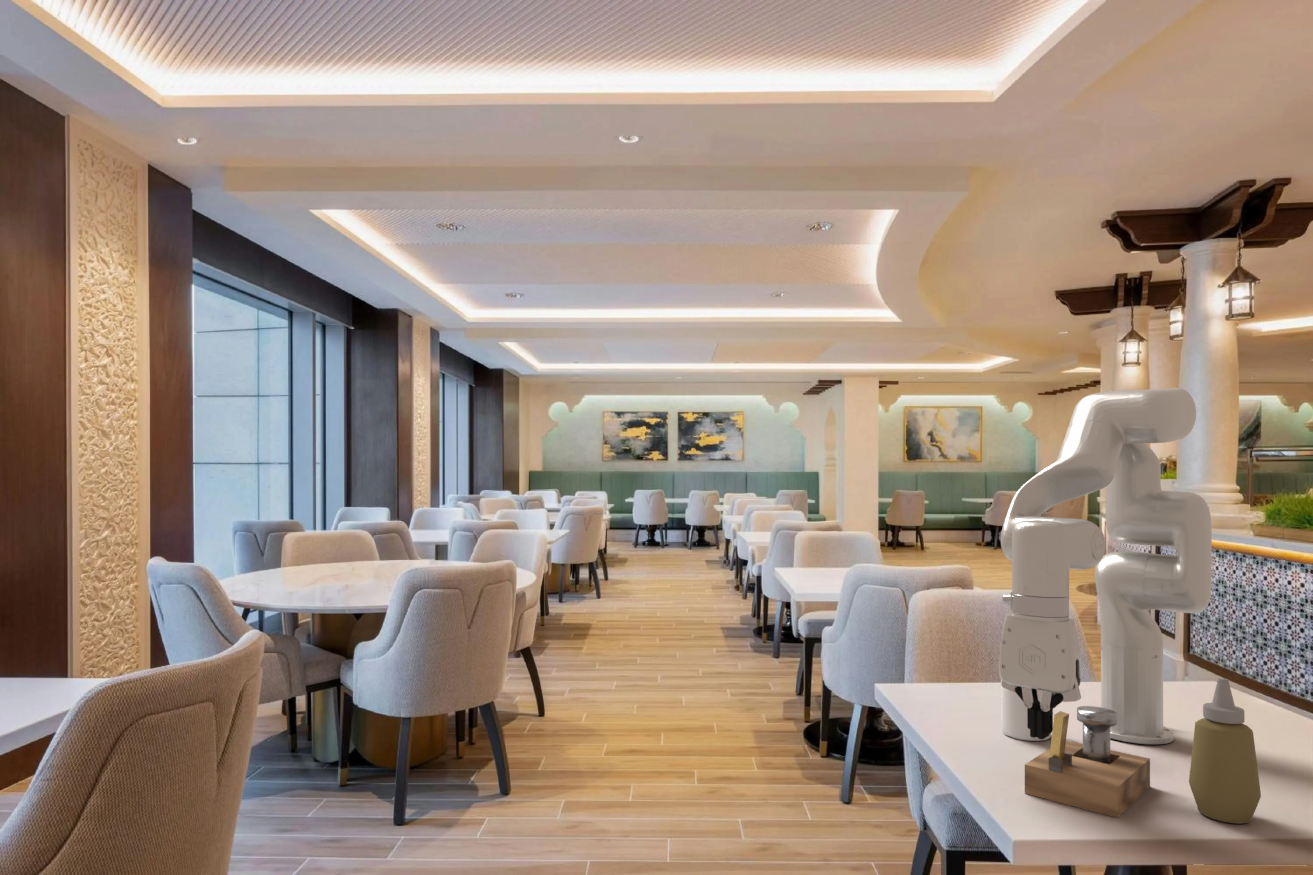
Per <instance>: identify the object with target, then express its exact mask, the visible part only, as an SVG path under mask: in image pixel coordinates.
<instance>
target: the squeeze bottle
mask: <svg viewBox="0 0 1313 875" xmlns="http://www.w3.org/2000/svg"><path fill="white" fill-rule="evenodd" d="M1212 698H1213V699H1212V702H1206V703H1203V705H1202V712H1203V713H1202V715H1203V718H1200V719H1198V720H1197V721H1195V722H1194V731H1193V740H1192V748H1191V751H1192V752H1191V759H1190V767H1189V775H1188V776H1189V777H1188V783H1189V786H1190V790H1191V793H1192V796H1193V799H1194V801H1195V804H1196V806H1197V809H1198V812H1199V813H1200V814H1202V815H1203V816H1205V817H1208V818H1210V819H1213V820H1215V821H1216V820H1217V821H1219V822H1224V823H1230V824H1239V825H1240V824H1247V823H1250V822H1251V821H1252V820H1253V817H1254V814H1255V812H1256V809H1257V807H1258V805H1259V803H1260V799H1261V797H1262V794H1261V784H1260V778H1259V777H1260V776H1259V768H1258V760H1257V753H1256V752H1257V751H1256V744H1255V737H1254V732H1253V730H1252V729H1251V727H1249V725H1247V724H1244V723H1245V709H1244V708H1241V707H1240V706H1237V705H1236V704H1235V701H1234V697H1233V693H1232V689H1231V685H1230V681H1229V679H1226V678H1217V681H1216V686H1215V690H1214V693H1213V697H1212Z"/></svg>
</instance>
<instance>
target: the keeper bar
mask: <svg viewBox="0 0 1313 875" xmlns="http://www.w3.org/2000/svg"><path fill="white" fill-rule="evenodd" d="M1069 718H1070V713H1068V712H1064V711H1058V712H1056V713H1053V730H1052V733H1051V741H1050V748H1049V749H1050V756H1049V758H1050V757H1053V758H1057V759H1061V760H1063V761H1064V753H1065V745H1066V741H1067V735H1068V729H1069V728H1068V726H1069Z"/></svg>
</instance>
